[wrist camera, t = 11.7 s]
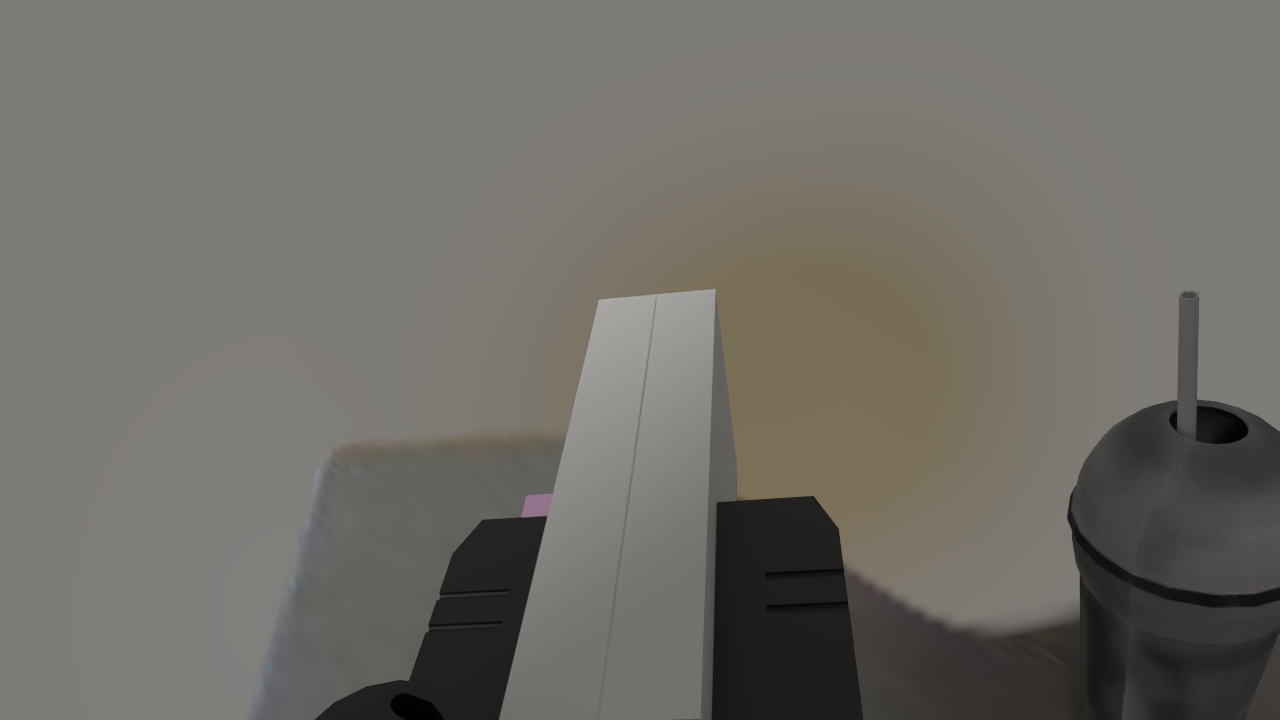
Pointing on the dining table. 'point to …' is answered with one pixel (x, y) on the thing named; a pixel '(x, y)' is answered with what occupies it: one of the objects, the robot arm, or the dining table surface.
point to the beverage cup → (1178, 555)
